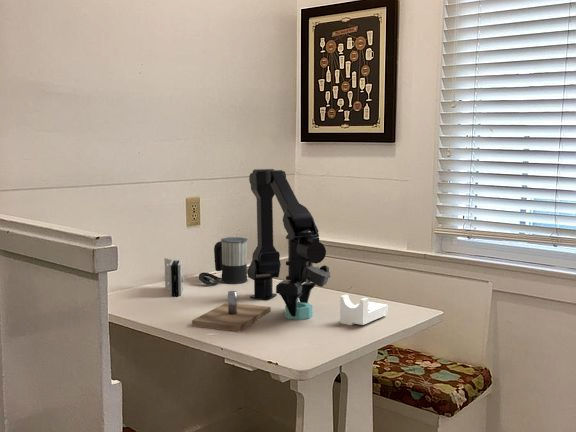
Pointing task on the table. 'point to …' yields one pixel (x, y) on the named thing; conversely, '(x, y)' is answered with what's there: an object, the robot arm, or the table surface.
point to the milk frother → (229, 261)
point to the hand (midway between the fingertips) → (298, 312)
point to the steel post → (232, 302)
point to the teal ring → (300, 311)
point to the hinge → (174, 276)
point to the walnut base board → (231, 317)
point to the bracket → (360, 311)
